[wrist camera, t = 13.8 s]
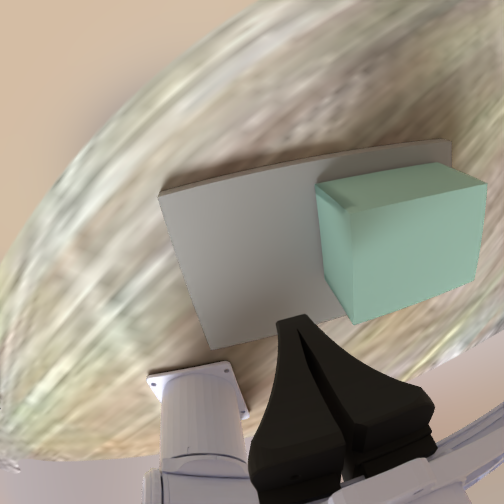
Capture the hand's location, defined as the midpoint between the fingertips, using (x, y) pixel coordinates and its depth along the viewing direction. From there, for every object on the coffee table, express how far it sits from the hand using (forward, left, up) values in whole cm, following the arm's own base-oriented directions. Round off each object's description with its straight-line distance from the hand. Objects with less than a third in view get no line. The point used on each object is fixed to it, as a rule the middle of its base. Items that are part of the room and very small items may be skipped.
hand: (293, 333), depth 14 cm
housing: (0, -9, -8) cm, 12 cm away
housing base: (-2, -5, -10) cm, 11 cm away
